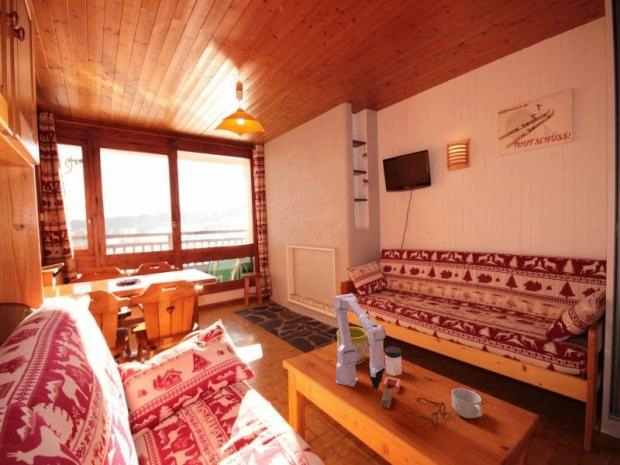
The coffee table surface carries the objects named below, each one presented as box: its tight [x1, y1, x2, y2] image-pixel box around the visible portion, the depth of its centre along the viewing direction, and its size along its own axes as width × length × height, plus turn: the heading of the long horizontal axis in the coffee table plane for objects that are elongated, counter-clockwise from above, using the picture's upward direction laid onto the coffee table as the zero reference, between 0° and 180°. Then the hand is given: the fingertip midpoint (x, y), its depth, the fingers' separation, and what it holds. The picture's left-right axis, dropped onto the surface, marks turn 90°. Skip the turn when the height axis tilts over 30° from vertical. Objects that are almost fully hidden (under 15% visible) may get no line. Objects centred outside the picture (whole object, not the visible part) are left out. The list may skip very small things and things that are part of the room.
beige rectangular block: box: [381, 388, 393, 409], centre depth 131 cm, size 3×9×4 cm, turn 158°
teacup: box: [451, 387, 484, 420], centre depth 119 cm, size 14×11×8 cm
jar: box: [384, 346, 403, 377], centre depth 156 cm, size 9×8×12 cm
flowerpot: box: [336, 326, 369, 366], centre depth 171 cm, size 18×18×16 cm
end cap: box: [382, 376, 401, 394], centre depth 141 cm, size 7×7×3 cm
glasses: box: [402, 396, 446, 427], centre depth 122 cm, size 13×13×5 cm
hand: (377, 385), depth 127 cm, fingers open, 5 cm apart
